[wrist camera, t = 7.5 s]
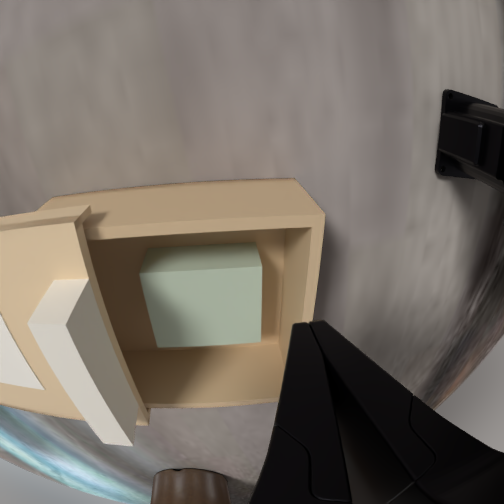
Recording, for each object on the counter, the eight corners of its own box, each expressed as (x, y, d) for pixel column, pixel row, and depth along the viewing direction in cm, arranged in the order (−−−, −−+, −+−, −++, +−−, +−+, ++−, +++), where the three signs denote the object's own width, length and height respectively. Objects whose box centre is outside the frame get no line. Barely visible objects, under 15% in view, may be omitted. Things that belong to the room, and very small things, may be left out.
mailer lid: (90, 204, 13) (41, 261, 9) (151, 403, 21) (146, 463, 16) (-81, 233, 12) (-124, 271, 7) (-3, 385, 19) (-21, 429, 15)
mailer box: (294, 178, 19) (325, 214, 14) (283, 342, 26) (298, 398, 21) (52, 197, 18) (7, 236, 12) (101, 349, 24) (85, 403, 19)
